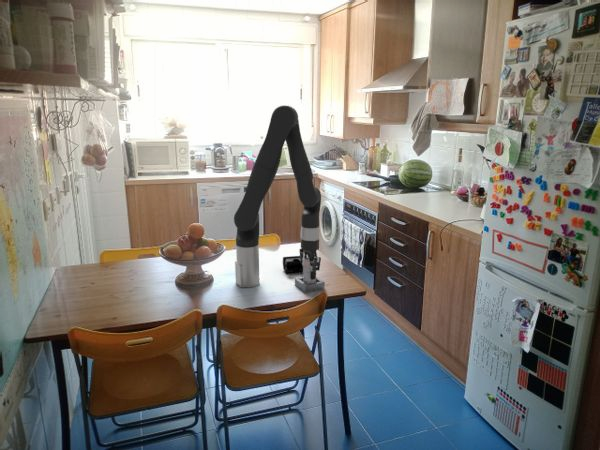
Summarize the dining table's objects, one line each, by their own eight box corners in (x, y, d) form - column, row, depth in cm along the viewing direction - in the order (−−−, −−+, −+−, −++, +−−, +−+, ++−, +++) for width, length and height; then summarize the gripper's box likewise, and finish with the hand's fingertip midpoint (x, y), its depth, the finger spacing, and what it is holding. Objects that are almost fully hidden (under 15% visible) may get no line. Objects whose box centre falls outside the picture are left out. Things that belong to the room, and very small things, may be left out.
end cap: (303, 267, 205) (304, 253, 203) (307, 273, 199) (307, 258, 197) (282, 269, 203) (282, 255, 201) (285, 274, 197) (285, 260, 195)
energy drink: (318, 284, 184) (318, 257, 181) (312, 289, 180) (312, 261, 176) (307, 281, 187) (307, 254, 184) (300, 286, 182) (300, 258, 179)
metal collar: (305, 293, 177) (305, 286, 177) (294, 285, 185) (294, 278, 184) (324, 288, 182) (324, 282, 181) (313, 281, 189) (313, 274, 188)
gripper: (293, 233, 182) (293, 272, 187) (310, 243, 170) (310, 284, 174) (309, 231, 185) (309, 269, 190) (327, 240, 173) (326, 281, 178)
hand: (309, 276), depth 182 cm, fingers closed on energy drink, 5 cm apart
